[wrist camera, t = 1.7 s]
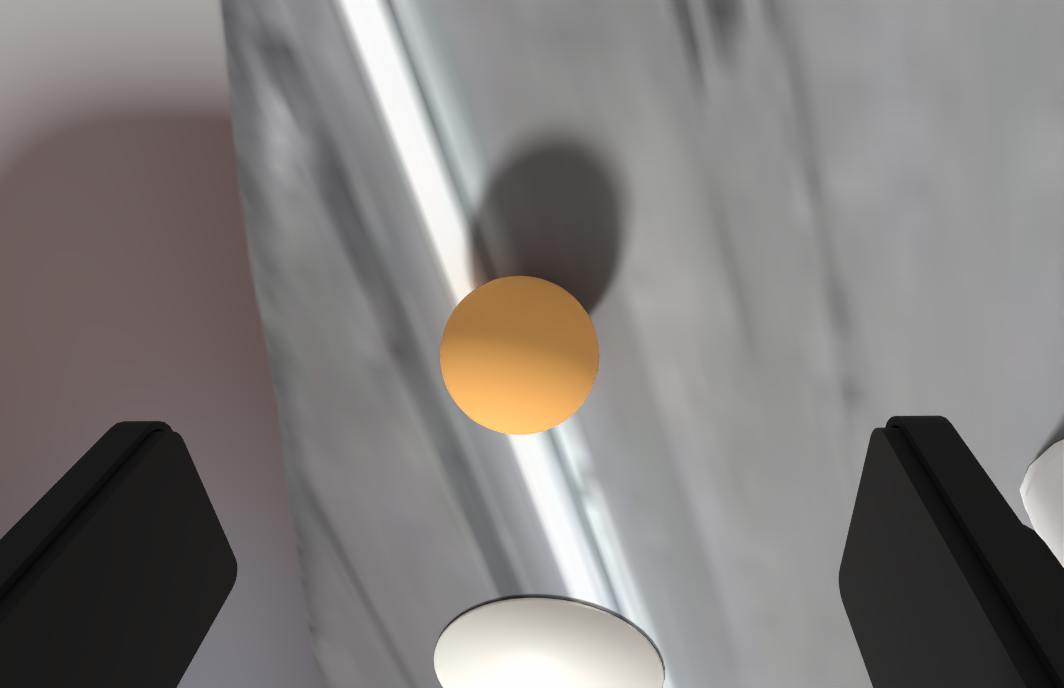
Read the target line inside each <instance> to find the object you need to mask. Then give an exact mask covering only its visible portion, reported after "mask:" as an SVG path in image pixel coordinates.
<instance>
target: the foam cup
mask: <svg viewBox="0 0 1064 688" xmlns="http://www.w3.org/2000/svg"><path fill="white" fill-rule="evenodd" d="M1020 493H1021V496H1022V499H1023V503H1024V506H1025V509H1026V511H1027V513H1028V514H1029V517H1030V520H1031V523H1032V525H1033V527H1034V529H1035V531H1036V533H1037V534H1038V535H1039V536H1040V537H1041V538H1042V539H1043V540H1044V541H1045V543H1046V544H1047V545H1048V547H1049V548H1050V550H1051V551H1052V552H1053V554H1054V555H1055V557H1056V558H1057V559H1058V561H1059V562H1060V563H1061V565H1062V566H1063V568H1064V439H1063V440H1061V441H1058V442H1056V443H1054V444H1053V445H1052V446H1051V447H1049V448H1048V449H1047V450H1046V451H1045V452H1044V453H1043V454H1042V455H1041V456H1040V457H1038V458H1037V459H1036V460H1035V461H1034V462H1033V463H1032V464H1031V465H1030V466H1029V467H1028V470H1027V472H1026V475H1025V477H1024V480H1023V482H1022V485H1021V487H1020Z"/></svg>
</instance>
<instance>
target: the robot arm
mask: <svg viewBox="0 0 1064 688" xmlns="http://www.w3.org/2000/svg"><path fill="white" fill-rule="evenodd" d="M236 577H237V562H236V559H235V556H234V554H233V552H232V549H231V547H230V545H229V542H228V540H227V538H226V536H225V534H224V531H223V529H222V527H221V525H220V522H219V520H218V518H217V515H216V513H215V511H214V509H213V506H212V504H211V502H210V499H209V497H208V495H207V493H206V490H205V488H204V486H203V484H202V481H201V479H200V477H199V475H198V472H197V470H196V468H195V465H194V463H193V461H192V459H191V456H190V454H189V452H188V450H187V448H186V445H185V443H184V441H183V439H182V437H181V435H179V434H178V433H177V432H173V430H172V429H171V427H170V426H169V425H168V424H166V423H165V422H160V421H124V422H120V423H117V424H115V425H114V426H113V427H112V428H110V429H109V430H108V431H107V432H106V433H105V434H104V435H103V436H102V437H101V438H100V439H99V440H98V441H97V442H96V443H95V444H94V445H93V447H91V448H90V450H88V451H87V452H86V453H85V455H84V456H82V457H81V459H80V460H79V461H78V462H77V463H76V464H75V465H74V466H73V467H72V468H71V469H70V470H69V471H68V472H67V473H66V474H65V475H64V476H63V477H62V478H61V479H60V480H59V481H58V482H57V483H56V484H55V485H54V486H53V487H52V488H51V489H50V490H49V491H48V492H47V493H46V494H45V495H44V496H43V497H42V498H41V499H40V500H39V501H38V502H37V503H36V504H35V505H34V506H33V507H32V508H31V509H30V510H29V511H28V512H27V513H26V514H25V515H24V516H23V517H22V518H21V519H20V520H19V521H18V522H17V523H16V524H15V525H14V526H13V527H12V528H11V529H10V530H9V531H8V532H7V533H6V535H4V536H3V537H2V539H0V688H176V687H177V685H178V684H179V682H180V680H181V679H182V677H183V675H184V673H185V671H186V670H187V668H188V666H189V664H190V663H191V661H192V659H193V657H194V655H195V654H196V652H197V650H198V648H199V646H200V645H201V643H202V641H203V639H204V638H205V636H206V634H207V632H208V631H209V629H210V627H211V625H212V623H213V621H214V620H215V618H216V616H217V614H218V613H219V611H220V609H221V607H222V606H223V604H224V602H225V600H226V599H227V597H228V595H229V593H230V591H231V590H232V588H233V586H234V583H235V581H236ZM839 588H840V594H841V598H842V601H843V604H844V607H845V610H846V613H847V616H848V618H849V621H850V624H851V627H852V630H853V632H854V635H855V638H856V641H857V643H858V646H859V649H860V652H861V655H862V657H863V660H864V663H865V666H866V669H867V671H868V674H869V677H870V680H871V683H872V685H873V688H1064V568H1063V566H1062V565H1061V563H1060V562H1059V561H1058V559H1057V558H1056V557H1055V555H1054V554H1053V552H1052V551H1051V550H1050V548H1049V547H1048V545H1047V544H1046V543H1045V541H1044V540H1043V539H1042V538H1041V537H1040V536H1039V535H1038V534H1037V533H1036V532H1035V531H1034V530H1032V529H1031V528H1029V527H1027V526H1025V525H1023V524H1022V523H1021V521H1020V520H1019V519H1018V517H1017V516H1016V514H1015V513H1014V512H1013V510H1012V509H1011V507H1010V506H1009V504H1008V503H1007V502H1006V500H1005V499H1004V497H1003V496H1002V495H1001V493H1000V492H999V490H998V489H997V488H996V486H995V485H994V483H993V482H992V481H991V479H990V478H989V476H988V475H987V473H986V472H985V471H984V469H983V468H982V466H981V465H980V464H979V462H978V461H977V459H976V458H975V457H974V455H973V454H972V452H971V451H970V449H969V448H968V447H967V445H966V444H965V442H964V441H963V440H962V438H961V437H960V435H959V434H958V433H957V431H956V430H955V428H954V427H953V425H952V424H951V423H950V422H949V421H948V420H947V419H946V418H945V417H942V416H894V417H891V418H890V419H889V420H888V422H887V424H886V427H885V428H875V429H874V430H873V432H872V434H871V437H870V442H869V446H868V450H867V454H866V459H865V463H864V467H863V472H862V476H861V480H860V484H859V489H858V493H857V497H856V502H855V506H854V510H853V515H852V519H851V523H850V527H849V532H848V536H847V540H846V545H845V549H844V553H843V557H842V562H841V566H840V571H839Z"/></svg>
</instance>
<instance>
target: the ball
mask: <svg viewBox="0 0 1064 688" xmlns="http://www.w3.org/2000/svg"><path fill="white" fill-rule="evenodd" d="M440 363H441V369H442V374H443V378H444V381H445V384H446V387H447V388H448V390H449V392H450V394H451V396H452V398H453V399H454V401H455V402H456V404H457V405H458V406H459V407H460V408H461V409H462V410H463V411H464V412H465V413H466V414H467V415H468V416H469V417H470V418H471V419H473V420H474V421H476V422H477V423H479V424H481V425H483V426H484V427H487V428H489V429H492V430H494V431H498V432H501V433H507V434H516V435H525V434H533V433H538V432H542V431H545V430H547V429H550V428H552V427H555V426H556V425H558V424H560V423H562V422H563V421H565V420H566V419H568V418H569V417H570V416H571V415H572V414H573V413H575V412H576V411H577V410H578V409H579V407H580V406H581V405H582V404H583V402H584V401H585V400H586V398H587V396H588V395H589V393H590V391H591V389H592V386H593V384H594V382H595V379H596V375H597V371H598V364H599V346H598V339H597V335H596V332H595V329H594V326H593V324H592V321H591V319H590V317H589V316H588V314H587V312H586V311H585V309H584V308H583V307H582V306H581V304H580V303H579V302H578V301H577V300H576V299H575V298H574V297H573V296H572V295H571V294H570V293H568V292H567V291H566V290H565V289H563V288H561V287H560V286H558V285H556V284H554V283H551V282H549V281H547V280H544V279H540V278H536V277H531V276H508V277H503V278H498V279H495V280H492V281H490V282H488V283H485V284H483V285H481V286H480V287H478V288H476V289H475V290H473V291H472V292H471V293H469V294H468V295H467V296H466V297H465V298H464V299H463V300H462V301H461V302H460V303H459V304H458V306H457V307H456V308H455V310H454V311H453V313H452V314H451V316H450V318H449V320H448V322H447V324H446V326H445V329H444V333H443V337H442V341H441V348H440Z"/></svg>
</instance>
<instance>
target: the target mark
mask: <svg viewBox="0 0 1064 688" xmlns="http://www.w3.org/2000/svg"><path fill="white" fill-rule="evenodd" d="M434 665H435V671H436V674H437V677H438V679H439V681H440V683H441V685H442V686H443V688H663V685H664V671H663V666H662V662H661V660H660V657H659V655H658V653H657V651H656V650H655V648H654V647H653V646H652V644H651V643H650V642H649V641H648V640H647V639H646V638H645V637H644V635H643V634H641V633H640V632H639V631H638V630H636V629H635V628H634V627H633V626H631V625H630V624H628V623H626V622H625V621H623V620H622V619H620V618H618V617H616V616H614V615H612V614H610V613H608V612H605V611H602V610H600V609H597V608H594V607H592V606H588V605H584V604H581V603H577V602H572V601H566V600H561V599H551V598H516V599H508V600H502V601H496V602H493V603H489V604H486V605H482V606H480V607H478V608H475V609H473V610H470V611H468V612H467V613H465V614H463V615H461V616H460V617H458V618H457V619H456V620H455V621H453V622H452V623H451V624H450V625H449V626H448V627H447V628H446V629H445V630H444V632H443V633H442V635H441V636H440V638H439V640H438V643H437V646H436V649H435V655H434Z"/></svg>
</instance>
